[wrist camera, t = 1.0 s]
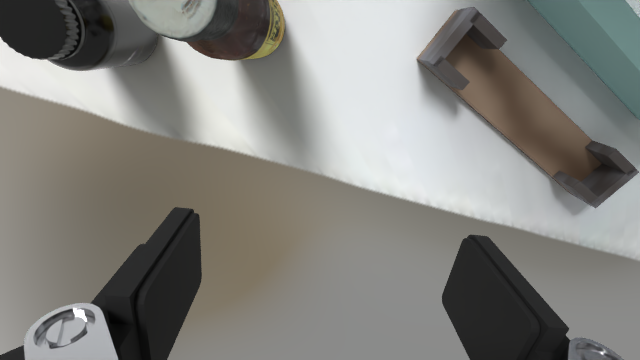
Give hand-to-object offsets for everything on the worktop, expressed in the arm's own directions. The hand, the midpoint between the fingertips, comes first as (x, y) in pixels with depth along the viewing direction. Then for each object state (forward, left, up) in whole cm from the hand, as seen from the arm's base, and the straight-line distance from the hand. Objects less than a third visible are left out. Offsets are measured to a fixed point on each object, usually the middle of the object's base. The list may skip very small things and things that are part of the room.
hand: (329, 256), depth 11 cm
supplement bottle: (+5, -20, -27) cm, 34 cm away
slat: (-22, +19, -27) cm, 40 cm away
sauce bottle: (-3, -10, -27) cm, 28 cm away
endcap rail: (-13, +19, -26) cm, 35 cm away
